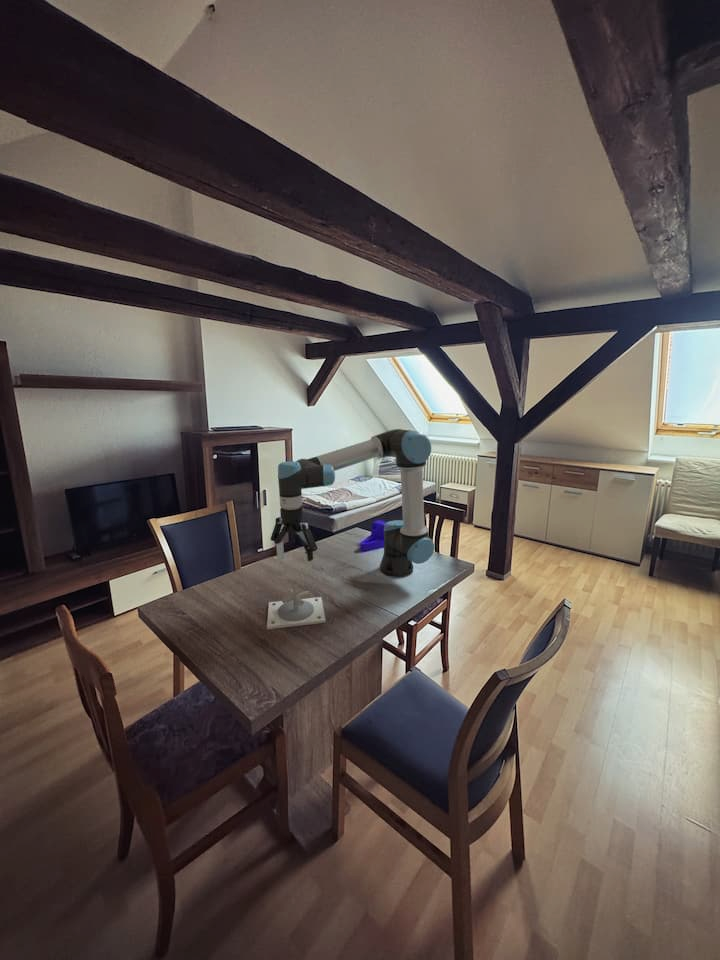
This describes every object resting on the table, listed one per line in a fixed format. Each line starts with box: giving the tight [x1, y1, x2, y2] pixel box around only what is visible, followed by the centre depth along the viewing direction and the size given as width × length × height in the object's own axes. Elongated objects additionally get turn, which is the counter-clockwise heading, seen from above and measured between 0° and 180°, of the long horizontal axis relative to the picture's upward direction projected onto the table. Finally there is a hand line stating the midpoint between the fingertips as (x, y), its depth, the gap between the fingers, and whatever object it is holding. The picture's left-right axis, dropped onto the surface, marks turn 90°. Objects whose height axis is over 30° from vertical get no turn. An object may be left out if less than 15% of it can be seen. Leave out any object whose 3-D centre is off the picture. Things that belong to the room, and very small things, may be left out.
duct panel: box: [266, 596, 327, 630], centre depth 139 cm, size 20×16×2 cm
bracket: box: [359, 519, 388, 553], centre depth 199 cm, size 18×11×12 cm, turn 136°
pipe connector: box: [281, 582, 310, 611], centre depth 138 cm, size 10×10×10 cm
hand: (294, 564), depth 135 cm, fingers open, 13 cm apart
